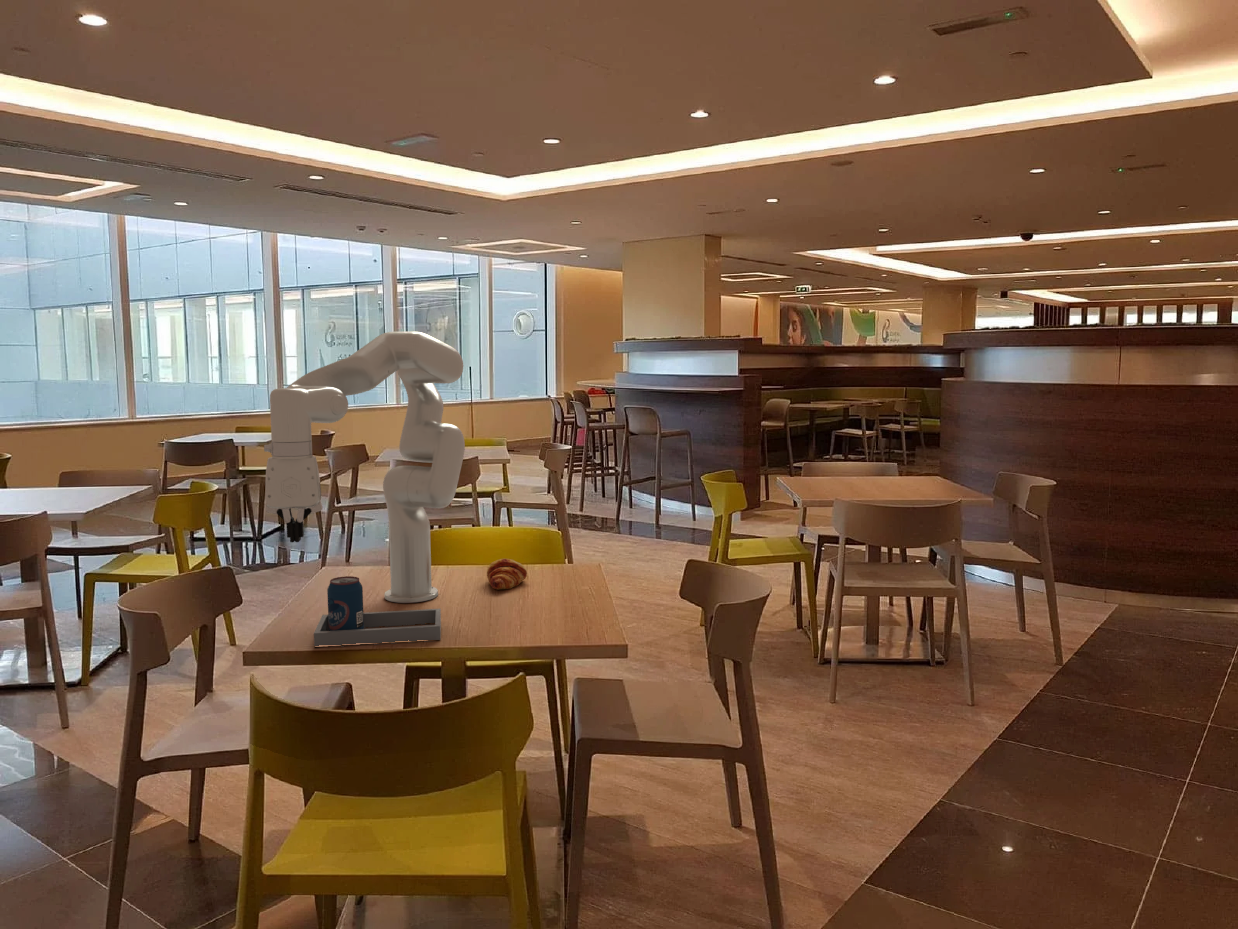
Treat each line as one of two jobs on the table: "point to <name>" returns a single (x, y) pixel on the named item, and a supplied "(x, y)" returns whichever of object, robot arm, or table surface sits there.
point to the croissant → (505, 574)
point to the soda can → (345, 604)
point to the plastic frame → (384, 633)
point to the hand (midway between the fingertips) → (295, 540)
